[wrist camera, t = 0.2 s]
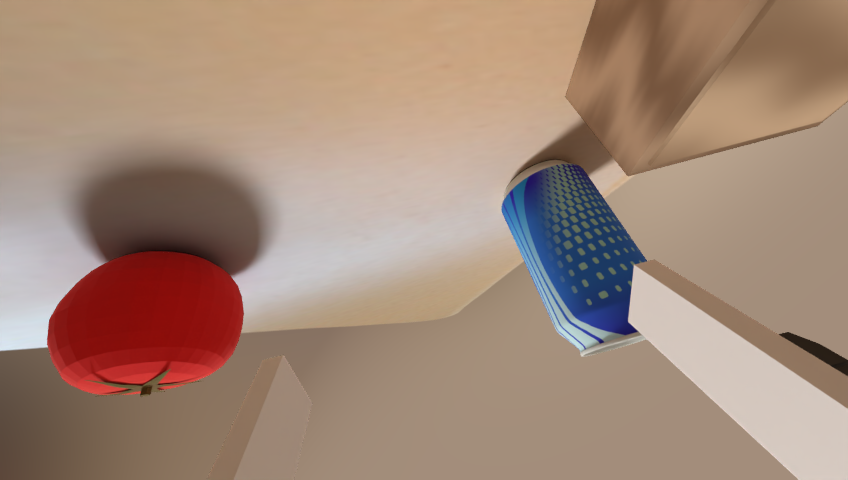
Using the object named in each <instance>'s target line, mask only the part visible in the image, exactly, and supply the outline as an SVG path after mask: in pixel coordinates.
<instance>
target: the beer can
mask: <svg viewBox="0 0 848 480" xmlns="http://www.w3.org/2000/svg"><path fill="white" fill-rule="evenodd" d="M502 213H503V215H504V218H505V220H506V222H507V224H508V226H509V229H510V231H511V233H512V235H513V237H514V240H515V242H516V244H517V246H518V248H519V250H520V253H521V255H522V257H523V259H524V261H525V264H526V265H527V268H528V270H529V272H530V274H531V277H532V279H533V281H534V283H535V285H536V287H537V290H538V292H539V294H540V296H541V298H542V301H543V303H544V305H545V307H546V309H547V312H548V314H549V316H550V318H551V320H552V322H553V325H554V327H555V329H556V331H557V332H558V333H559V334H560V335H561V336H563V337H564V338H565V339H567V340H568V341H569V342H571V343H572V344H573V345H574V346H576V347H577V348H578V349H579V350H580V354H581V356H589V355H594V354H597V353H601V352H605V351H609V350H613V349H616V348H620V347H623V346H626V345H630V344H633V343H636V342H639V341H642V340H645V339H646V338H645V337H644V336H643V335H642V334H641V333H640V332H639V331H637V330H636V329H635V328H634V327H633V326H632V325H631V324H630V323H629V322H628V317H629V307H630V298H631V288H632V279H633V269H634V265H635V264H639V263H643V262H647V260H646V259H645V257H644V256H643V254H642V253H641V252H640V250H639V249H638V247H637V246H636V244H635V243H634V242H633V240H632V239H631V237H630V236H629V234H628V233H627V231H626V230H625V229H624V227H623V226H622V224H621V223H620V222H619V220H618V218H617V217H616V216H615V214H614V213H613V212H612V210H611V208H610V207H609V206H608V204H607V203H606V201H605V200H604V198H603V197H602V195H601V194H600V193H599V191H598V190H597V188H596V187H595V185H594V184H593V182H592V181H591V180H590V178H589V177H588V175H587V174H586V172H585V171H584V170H583V168H582V167H580V166H579V165H576V164H572V163H567V162H565V161H562V160H549V161H544V162H541V163H538V164H536V165H533V166H531V167H529V168H528V169H526V170H524V171H523V172H521V173H520V174H519V175H518V176H516V177H515V178H514V179H513V180H512V181H511V182H510V184H509V185H508V187H507V188H506V191H505V194H504V200H503V203H502Z"/></svg>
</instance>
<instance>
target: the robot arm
mask: <svg viewBox="0 0 848 480" xmlns="http://www.w3.org/2000/svg"><path fill="white" fill-rule="evenodd" d="M628 322H629V323H630V324H631V325H632V326H633V327H634V328H635V329H636V330H637V331H639V332H640V333H641V334H642V335H643V336H644V337H645V338H646V339H647V340H648V341H649V342H650V343H652V344H653V345H654V346H655V347H656V348H657V349H658V350H659V351H660V352H661V353H662V354H663V355H665V356H666V357H667V358H668V359H669V360H670V361H671V362H672V363H673V364H674V365H675V366H676V367H677V368H679V369H680V370H681V371H682V372H683V373H684V374H685V375H686V376H687V377H688V378H689V379H690V380H692V381H693V382H694V383H695V384H696V385H697V386H698V387H699V388H700V389H701V390H702V391H703V392H705V393H706V394H707V395H708V396H709V397H710V398H711V399H712V400H713V401H714V402H715V403H716V404H717V405H719V406H720V407H721V408H722V409H723V410H724V411H725V412H726V413H727V414H728V415H729V416H730V417H732V418H733V419H734V420H735V421H736V422H737V423H738V424H739V425H740V426H741V427H742V428H744V430H746V431H747V432H748V433H749V434H750V435H751V436H752V437H753V438H754V439H755V440H757V442H759V443H760V444H761V445H762V446H763V447H764V448H765V449H766V450H767V451H768V452H769V453H770V454H771V455H773V456H774V457H775V458H776V459H777V460H778V461H779V462H780V463H781V464H782V465H783V466H784V467H786V468H787V469H788V470H789V471H790V472H791V473H792V474H793V475H794V476H795V477H796V478H797V479H798V480H848V360H847V359H845V358H843V357H842V356H839V355H838V354H836V353H834V352H832V351H831V350H829V349H827V348H826V347H824V346H822V345H820V344H818V343H816V342H813V341H810V340H808V339H805V338H802V337H800V336H797V335H794V334H791V333H789V332H787V333H782V334H777V333H775V332H773V331H772V330H770V329H768V328H767V327H765V326H764V325H762V324H760V323H759V322H757V321H755V320H754V319H752V318H750V317H748V316H747V315H745V314H744V313H742V312H740V311H739V310H737V309H735V308H734V307H732V306H730V305H729V304H727V303H725V302H724V301H722V300H720V299H719V298H717V297H715V296H714V295H712V294H710V293H709V292H707V291H706V290H704V289H702V288H701V287H698V286H697V285H696V284H694V283H692V282H690V281H689V280H687V279H686V278H684V277H682V276H681V275H679V274H677V273H676V272H674V271H672V270H671V269H669V268H667V267H666V266H664V265H662V264H661V263H659V262H657V261H656V260H651V261H647V262H643V263H639V264H635V265H634V269H633V279H632V288H631V298H630V307H629V317H628ZM311 407H312V401H311V400H310V398H309V396H308V395H307V393H306V392H305V390H304V388H303V387H302V385H301V383H300V381H299V380H298V378H297V376H296V375H295V374H294V372H293V370H292V368H291V367H290V365H289V363H288V362H287V360H286V358H285V357H284V355H280V356H276V357H272V358H268V359H265V360H262V363H261V365H260V367H259V369H258V371H257V373H256V376H255V377H254V380H253V382H252V384H251V386H250V388H249V390H248V392H247V394H246V397H245V399H244V401H243V403H242V405H241V408H240V409H239V412H238V414H237V416H236V418H235V420H234V422H233V424H232V427H231V429H230V431H229V433H228V435H227V437H226V440H225V442H224V444H223V446H222V448H221V450H220V452H219V454H218V456H217V459H216V461H215V463H214V465H213V467H212V469H211V471H210V474H209V476H208V478H207V480H294V478H295V473H296V469H297V465H298V461H299V457H300V453H301V449H302V444H303V440H304V436H305V432H306V428H307V424H308V420H309V415H310V411H311Z"/></svg>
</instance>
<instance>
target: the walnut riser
mask: <svg viewBox="0 0 848 480" xmlns="http://www.w3.org/2000/svg"><path fill="white" fill-rule="evenodd" d="M565 97H566V98H567V100H568V101H569V102H570V103H571V105H572V106H573V107H574V109H575V110H576V111H577V112H578V114H579V115H580V116H581V117H582V119H583V120H584V121H585V123H586V124H587V125H588V126H589V128H590V129H591V130H592V131H593V133H594V134H595V135H596V137H597V138H598V139H599V140H600V142H601V143H602V144H603V145H604V147H605V148H606V149H607V151H608V152H609V153H610V154H611V156H612V157H613V158H614V159H615V161H616V162H617V163H618V164H619V166H620V167H621V168H622V170H623V171H624V172H625V173H626V175H627V176H631V175H635V174H638V173H642V172H646V171H650V170H653V169H657V168H661V167H665V166H669V165H672V164H676V163H679V162H684V161H687V160H691V159H695V158H698V157H703V156H706V155H710V154H714V153H718V152H721V151H725V150H729V149H733V148H737V147H740V146H744V145H748V144H752V143H756V142H759V141H763V140H767V139H771V138H774V137H778V136H782V135H785V134H790V133H793V132H797V131H801V130H805V129H809V128H812V127H816V126H818V125H819V124H820V123H822V122H823V121H824V120H825V119H827V118H828V117H829V116H831V115H832V114H833V113H834V112H836V111H837V110H838V109H839V108H840V107H842V106H843V105H844V104H845V103H847V102H848V0H596V3H595V6H594V9H593V12H592V16H591V19H590V22H589V25H588V28H587V31H586V34H585V37H584V40H583V44H582V47H581V50H580V53H579V56H578V59H577V62H576V65H575V68H574V71H573V75H572V78H571V81H570V84H569V87H568V90H567V93H566V96H565Z"/></svg>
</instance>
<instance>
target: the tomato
mask: <svg viewBox="0 0 848 480" xmlns="http://www.w3.org/2000/svg"><path fill="white" fill-rule="evenodd" d="M243 315H244V311H243V303H242V296H241V294H240V291H239V288H238V286H237V284H236V283H235V281H234V280H233V279H232V278H231V276H230V275H229V274H228V273H227V272H226V271H225V270H223V269H222V268H220V267H218V266H217V265H215V264H213V263H212V262H210V261H208V260H206V259H204V258H201V257H198V256H195V255H190V254H185V253H178V252H167V251H147V252H140V253H134V254H130V255H125V256H122V257H119V258H115V259H113V260H111V261H109V262H107V263H105V264H103V265H101V266H99V267H98V268H96V269H94V270H93V271H91V272H90V273H89V274H87V275H86V276H85V277H84V278H83V279H81V280H80V281H79V282H78V283H77V284H76V285H75V286H74V287H73V288H72V289H71V290H70V291H69V292H68V293H67V294H66V296H65V297H64V298H63V299H62V300H61V301H60V302H59V304H58V305H57V307H56V309H55V311H54V312H53V314H52V316H51V318H50V320H49V327H48V337H47V345H48V348H49V352H50V355H51V359H52V362H53V363H54V365H55V367H56V368H57V370H58V372H59V374H60V375H61V377H62V378H63V380H64V381H66V382H67V383H68V384H70V385H72V386H74V387H76V388H79V389H81V390H83V391H86V392H90V393H94V394H101V395H102V396H107V395H124V394H125V395H126V394H137V393H141V394H140V396H141V397H142V396H148V395H150V394H151V392H162V391H160V390H164V389H170V388H174V387H178V386H182V385H185V384H188V383H193V381H195V382H196V380H198V379H201V378H203V377H206V376H208V375H210V374H211V373H213V372H214V371H216V370H217V369H219V368H220V367H222V366H223V365H224V363H225V362H226V361H227V360H228V359H229V358H230V356H231V355H232V354H233V352H234V350H235V347H236V346H237V343H238V341H239V337H240V333H241V330H242V324H243ZM198 382H199V381H198ZM164 392H165V391H164Z"/></svg>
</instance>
